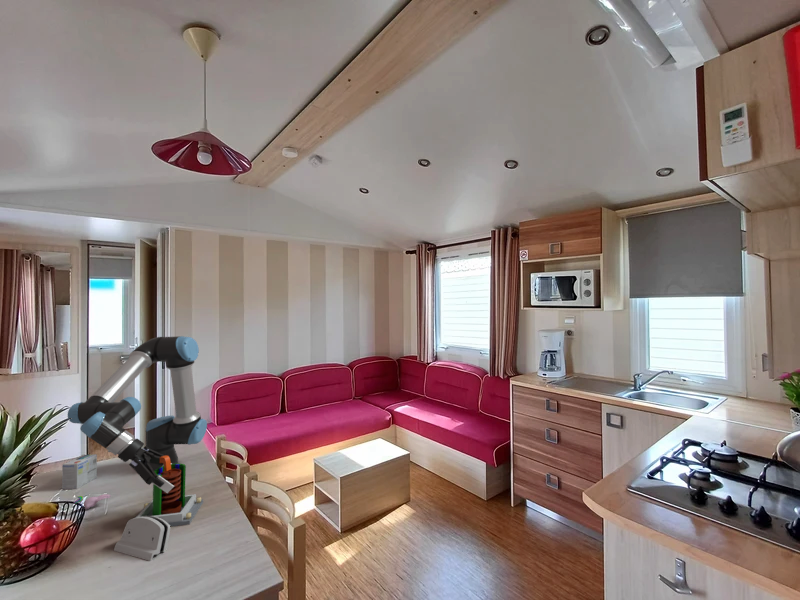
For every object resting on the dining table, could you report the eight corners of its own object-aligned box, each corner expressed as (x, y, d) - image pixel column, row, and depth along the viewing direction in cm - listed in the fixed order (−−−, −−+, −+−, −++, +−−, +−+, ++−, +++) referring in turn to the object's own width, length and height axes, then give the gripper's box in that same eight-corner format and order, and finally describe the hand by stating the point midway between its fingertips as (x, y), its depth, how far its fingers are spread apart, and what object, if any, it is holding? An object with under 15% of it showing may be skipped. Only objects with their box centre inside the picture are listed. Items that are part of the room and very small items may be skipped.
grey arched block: (112, 550, 113) (124, 514, 117) (127, 546, 117) (138, 511, 121) (151, 561, 108) (162, 523, 111) (165, 557, 112) (175, 520, 116)
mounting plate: (146, 508, 137) (146, 499, 137) (203, 502, 141) (203, 492, 141) (125, 532, 122) (125, 521, 122) (189, 524, 127) (189, 513, 127)
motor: (167, 521, 127) (167, 463, 127) (145, 518, 128) (146, 462, 129) (188, 505, 137) (189, 452, 137) (168, 503, 138) (168, 451, 139)
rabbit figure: (58, 522, 131) (110, 504, 139) (55, 507, 131) (107, 489, 139) (63, 514, 136) (112, 497, 144) (60, 499, 136) (110, 482, 144)
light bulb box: (82, 478, 164) (82, 454, 164) (97, 477, 164) (97, 453, 164) (60, 489, 153) (61, 464, 153) (77, 489, 153) (77, 463, 154)
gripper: (128, 443, 138) (173, 475, 144) (103, 469, 115) (157, 506, 120) (144, 427, 141) (188, 460, 146) (123, 450, 117) (176, 487, 123)
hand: (174, 481), depth 133 cm, fingers open, 13 cm apart
